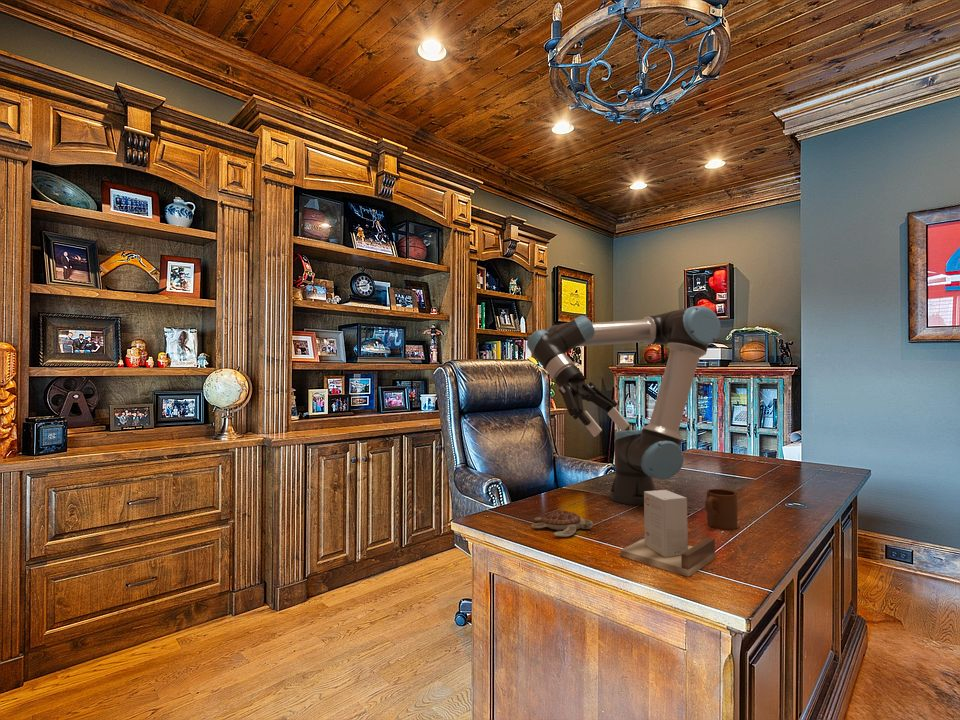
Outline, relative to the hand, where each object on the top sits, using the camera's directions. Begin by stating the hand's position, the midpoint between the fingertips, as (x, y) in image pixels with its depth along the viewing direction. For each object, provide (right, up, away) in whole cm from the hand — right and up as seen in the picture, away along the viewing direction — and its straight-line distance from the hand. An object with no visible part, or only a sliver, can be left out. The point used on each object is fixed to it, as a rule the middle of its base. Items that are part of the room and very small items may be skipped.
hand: (612, 431), depth 131 cm
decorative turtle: (-12, -28, +7) cm, 31 cm away
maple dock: (+9, -27, -15) cm, 32 cm away
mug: (+30, -28, +6) cm, 41 cm away
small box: (+9, -26, -14) cm, 31 cm away
